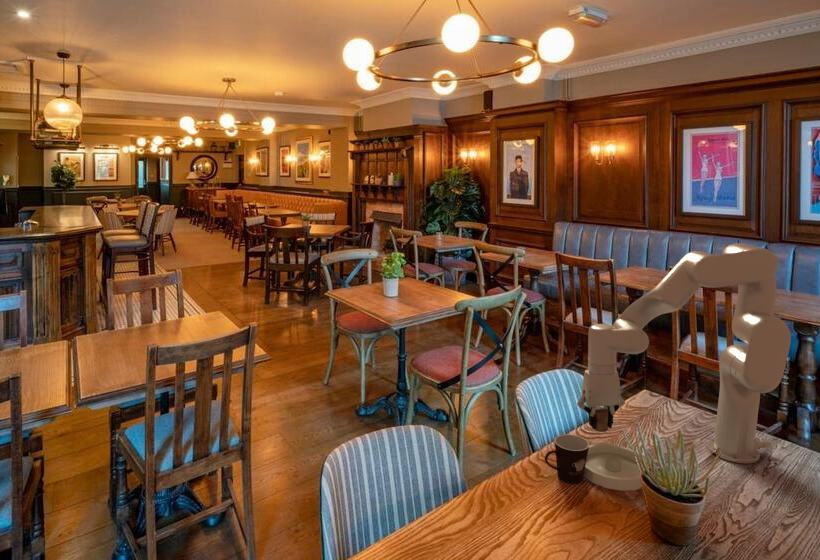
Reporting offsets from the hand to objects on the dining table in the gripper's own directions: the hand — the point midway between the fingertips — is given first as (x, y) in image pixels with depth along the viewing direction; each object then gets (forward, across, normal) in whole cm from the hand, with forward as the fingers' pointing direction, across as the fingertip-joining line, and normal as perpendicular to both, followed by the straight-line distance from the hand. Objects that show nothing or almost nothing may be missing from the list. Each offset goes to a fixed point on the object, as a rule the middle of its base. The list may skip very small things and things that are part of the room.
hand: (600, 425), depth 149 cm
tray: (+6, +2, +13) cm, 15 cm away
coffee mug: (+6, +16, +15) cm, 23 cm away
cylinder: (+1, 0, 0) cm, 1 cm away
